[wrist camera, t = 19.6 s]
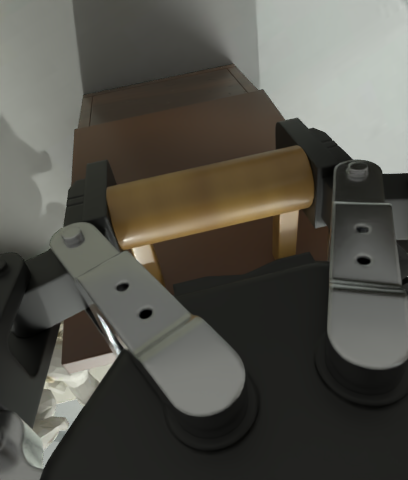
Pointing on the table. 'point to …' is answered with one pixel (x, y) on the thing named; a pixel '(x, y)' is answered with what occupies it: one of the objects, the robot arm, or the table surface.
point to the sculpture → (63, 393)
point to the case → (163, 94)
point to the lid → (197, 198)
